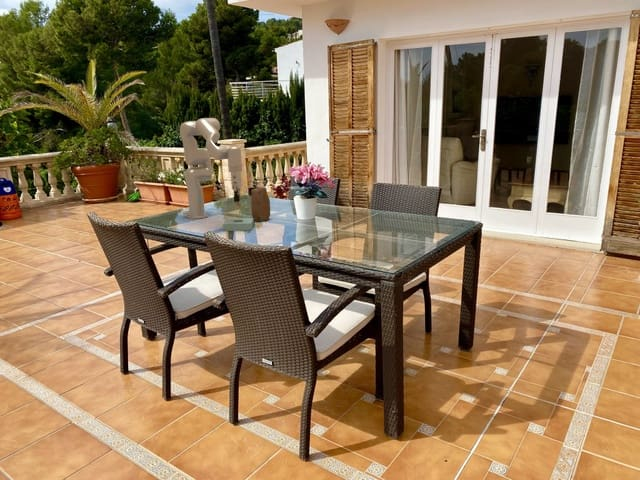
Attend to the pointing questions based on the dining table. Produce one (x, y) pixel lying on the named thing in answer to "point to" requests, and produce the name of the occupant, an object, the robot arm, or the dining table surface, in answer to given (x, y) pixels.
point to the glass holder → (250, 197)
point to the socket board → (238, 224)
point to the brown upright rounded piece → (260, 204)
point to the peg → (237, 204)
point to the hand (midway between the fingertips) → (237, 200)
